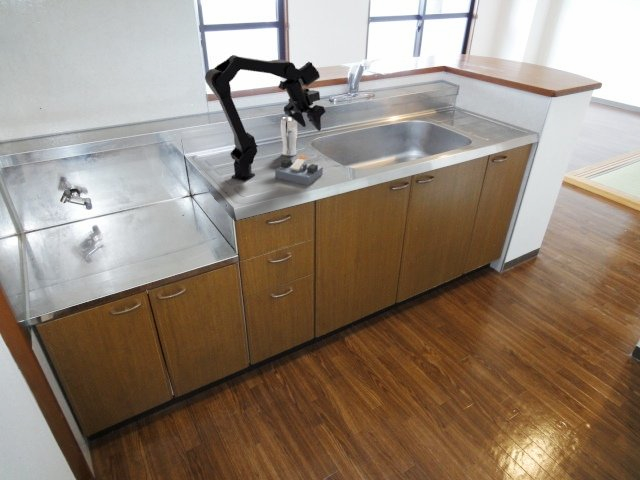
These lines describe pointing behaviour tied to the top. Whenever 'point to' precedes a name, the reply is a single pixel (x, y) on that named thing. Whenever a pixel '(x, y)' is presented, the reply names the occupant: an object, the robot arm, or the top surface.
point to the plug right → (312, 168)
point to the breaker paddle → (299, 163)
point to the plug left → (286, 163)
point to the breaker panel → (298, 174)
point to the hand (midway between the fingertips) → (312, 128)
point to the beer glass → (289, 136)
